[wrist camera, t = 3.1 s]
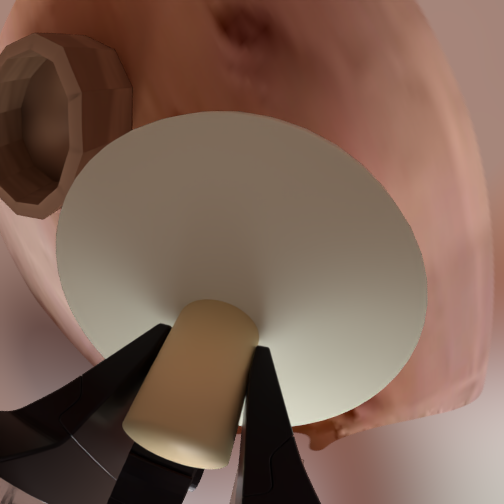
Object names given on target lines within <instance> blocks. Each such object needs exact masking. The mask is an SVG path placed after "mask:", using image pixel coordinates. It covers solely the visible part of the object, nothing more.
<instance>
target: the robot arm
mask: <svg viewBox="0 0 504 504" xmlns="http://www.w3.org/2000/svg"><path fill="white" fill-rule="evenodd" d="M171 329H172V327H171V326H170V325H167V324H163V323H159V324H157V325H156V326H154V327H153V328H151V329H150V330H148V331H147V332H145V333H144V334H142V335H141V336H139V337H138V338H136V339H135V340H133V341H132V342H130V343H129V344H127V345H126V346H124V347H123V348H121V349H120V350H118V351H117V352H115V353H114V354H112V355H111V356H109V357H108V358H106V359H105V360H103V361H102V362H100V363H99V364H97V365H96V366H94V367H93V368H91V369H90V370H88V371H87V372H85V373H84V374H82V376H79V377H78V378H76V379H75V380H73V381H71V382H70V383H68V384H67V385H65V386H63V387H62V388H60V389H58V390H56V391H54V392H53V393H51V394H49V395H47V396H45V397H43V398H41V399H39V400H37V401H35V402H33V403H31V404H29V405H27V406H25V407H23V408H20V409H17V410H13V411H0V504H182V502H183V500H184V498H185V496H186V493H187V491H191V492H193V491H194V490H195V489H196V487H197V486H198V483H199V482H200V479H201V477H202V474H203V471H204V469H202V468H195V467H190V466H186V465H182V464H179V463H176V462H173V461H170V460H168V459H165V458H163V457H160V456H158V455H156V454H154V453H152V452H150V451H149V450H147V449H145V448H144V447H142V446H141V445H139V444H138V443H136V442H135V441H134V440H133V439H131V438H130V437H129V436H128V435H127V433H126V432H125V431H124V429H123V426H122V423H123V421H124V419H125V417H126V415H127V413H128V411H129V409H130V407H131V405H132V403H133V401H134V399H135V397H136V395H137V393H138V391H139V389H140V387H141V386H142V384H143V382H144V380H145V378H146V376H147V374H148V372H149V370H150V368H151V366H152V364H153V363H154V361H155V359H156V357H157V355H158V353H159V351H160V349H161V347H162V346H163V344H164V342H165V340H166V338H167V336H168V334H169V333H170V331H171ZM293 435H294V434H293V431H292V427H291V424H290V420H289V416H288V413H287V409H286V406H285V402H284V398H283V395H282V391H281V388H280V384H279V380H278V377H277V373H276V369H275V366H274V362H273V359H272V355H271V351H270V348H269V347H266V346H260V345H257V346H256V349H255V353H254V357H253V361H252V365H251V368H250V373H249V378H248V384H247V392H246V397H245V403H244V411H243V421H242V432H241V444H240V456H239V466H238V477H237V488H236V498H235V504H321V503H320V501H319V498H318V496H317V494H316V492H315V490H314V488H313V486H312V484H311V481H310V479H309V477H308V475H307V473H306V470H305V468H304V465H303V463H302V460H301V457H300V454H299V451H298V448H297V445H296V441H295V437H293Z"/></svg>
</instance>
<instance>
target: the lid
mask: <svg viewBox="0 0 504 504" xmlns="http://www.w3.org/2000/svg"><path fill="white" fill-rule="evenodd" d="M56 258H57V267H58V273H59V277H60V281H61V285H62V289H63V291H64V294H65V297H66V299H67V302H68V304H69V307H70V309H71V311H72V313H73V315H74V317H75V319H76V320H77V322H78V324H79V325H80V327H81V328H82V330H83V332H84V333H85V335H86V336H87V337H88V339H89V340H90V341H91V343H92V344H93V345H94V346H95V348H96V349H97V350H98V351H99V352H100V353H101V355H102V356H103V357H104V358H105V359H106V358H108V357H109V356H111V355H112V354H114V353H115V352H117V351H118V350H120V349H121V348H123V347H124V346H126V345H127V344H129V343H130V342H132V341H133V340H135V339H136V338H138V337H139V336H141V335H142V334H144V333H145V332H147V331H148V330H150V329H151V328H153V327H154V326H156V325H157V324H159V323H163V324H167V325H170V326H171V327H172V329H171V331H170V333H169V334H168V336H167V338H166V340H165V342H164V344H163V346H162V347H161V349H160V351H159V353H158V355H157V357H156V359H155V361H154V363H153V364H152V366H151V368H150V370H149V372H148V374H147V376H146V378H145V380H144V382H143V384H142V386H141V387H140V389H139V391H138V393H137V395H136V397H135V399H134V401H133V403H132V405H131V407H130V409H129V411H128V413H127V415H126V417H125V419H124V421H123V423H122V426H123V429H124V431H125V432H126V433H127V435H128V436H129V437H130V438H131V439H133V440H134V441H135V442H136V443H138V444H139V445H141V446H142V447H144V448H145V449H147V450H149V451H150V452H152V453H154V454H156V455H158V456H160V457H163V458H165V459H168V460H170V461H173V462H176V463H179V464H182V465H186V466H190V467H195V468H202V469H219V468H223V467H226V466H227V465H228V463H229V459H230V456H231V452H232V448H233V444H234V441H235V437H236V433H237V429H238V425H239V426H242V421H243V411H244V403H245V397H246V392H247V384H248V378H249V373H250V368H251V365H252V361H253V357H254V353H255V349H256V346H257V345H260V346H266V347H269V348H270V351H271V355H272V359H273V362H274V366H275V369H276V373H277V377H278V380H279V384H280V388H281V391H282V395H283V398H284V402H285V406H286V409H287V413H288V416H289V420H290V424H291V426H297V425H304V424H309V423H314V422H318V421H322V420H325V419H328V418H331V417H334V416H337V415H340V414H342V413H344V412H347V411H349V410H351V409H353V408H355V407H357V406H359V405H360V404H362V403H364V402H365V401H367V400H369V399H370V398H372V397H373V396H374V395H376V394H377V393H378V392H380V391H381V390H382V389H383V388H385V387H386V386H387V385H388V384H389V383H390V382H391V381H392V380H393V379H394V378H395V377H396V376H397V375H398V373H399V372H400V371H401V369H402V368H403V367H404V365H405V364H406V363H407V361H408V360H409V358H410V356H411V354H412V353H413V351H414V349H415V347H416V345H417V343H418V340H419V338H420V335H421V332H422V329H423V326H424V321H425V315H426V309H427V277H426V272H425V267H424V262H423V258H422V254H421V251H420V248H419V246H418V244H417V241H416V239H415V236H414V234H413V231H412V229H411V227H410V225H409V224H408V222H407V221H406V219H405V217H404V216H403V214H402V213H401V211H400V209H399V208H398V206H397V205H396V203H395V202H394V200H393V199H392V198H391V196H390V195H389V193H388V192H387V190H386V189H385V188H384V187H383V186H382V185H381V183H380V182H379V181H378V180H377V179H376V178H375V177H374V176H373V175H372V174H371V173H370V172H369V171H368V170H367V169H366V168H365V167H364V165H362V164H361V163H360V162H359V161H357V160H356V159H355V158H353V157H352V156H351V155H350V154H348V153H347V152H346V151H344V150H343V149H342V148H340V147H339V146H337V145H336V144H334V143H332V142H331V141H329V140H327V139H325V138H323V137H321V136H319V135H318V134H316V133H314V132H312V131H310V130H308V129H306V128H303V127H301V126H298V125H295V124H292V123H289V122H286V121H283V120H280V119H277V118H274V117H270V116H264V115H258V114H253V113H246V112H240V111H204V112H197V113H191V114H185V115H179V116H174V117H170V118H166V119H162V120H158V121H155V122H153V123H150V124H147V125H144V126H142V127H139V128H137V129H134V130H131V131H130V132H128V133H126V134H124V135H123V136H121V137H119V138H118V139H116V140H114V141H113V142H111V143H110V144H108V145H107V146H106V147H104V148H103V149H102V150H101V151H100V152H99V153H98V154H96V155H95V156H94V157H93V158H92V159H91V160H90V161H89V162H88V163H87V164H86V166H85V167H84V168H83V169H82V171H81V172H80V173H79V175H78V176H77V177H76V178H75V180H74V182H73V184H72V186H71V188H70V189H69V191H68V193H67V195H66V197H65V200H64V203H63V206H62V209H61V212H60V215H59V220H58V226H57V233H56Z"/></svg>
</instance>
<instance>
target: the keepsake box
mask: <svg viewBox="0 0 504 504" xmlns="http://www.w3.org/2000/svg"><path fill="white" fill-rule="evenodd" d="M132 90H133V88H132V85H131V83H130V81H129V79H128V77H127V75H126V73H125V71H124V68H123V66H122V64H121V62H120V60H119V58H118V56H117V54H116V51H115V50H114V49H112V48H110V47H108V46H106V45H104V44H102V43H100V42H98V41H96V40H94V39H92V38H90V37H88V36H84V35H73V34H56V33H33V34H31V35H28V36H26V37H24V38H22V39H20V40H18V41H16V42H14V43H12V44H10V45H8V46H6V47H5V49H4V50H3V52H2V53H1V54H0V198H1V199H2V200H3V201H4V202H5V203H6V204H7V205H8V206H9V207H10V208H11V209H12V210H13V211H14V212H15V213H16V214H17V215H21V216H27V217H32V218H37V219H45V218H46V217H48V216H49V215H51V214H52V213H54V212H56V211H57V210H59V209H60V208H62V206H63V203H64V200H65V197H66V195H67V193H68V191H69V189H70V188H71V186H72V184H73V182H74V180H75V178H76V177H77V176H78V175H79V173H80V172H81V171H82V169H83V168H84V167H85V166H86V164H87V163H88V162H89V161H90V160H91V159H92V158H93V157H94V156H95V155H96V154H98V153H99V152H100V151H101V150H102V149H103V148H104V147H106V146H107V145H108V144H110V143H111V142H113V141H114V140H116V139H118V138H119V137H121V136H123V135H124V134H126V133H128V132H130V131H131V130H132Z"/></svg>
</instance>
